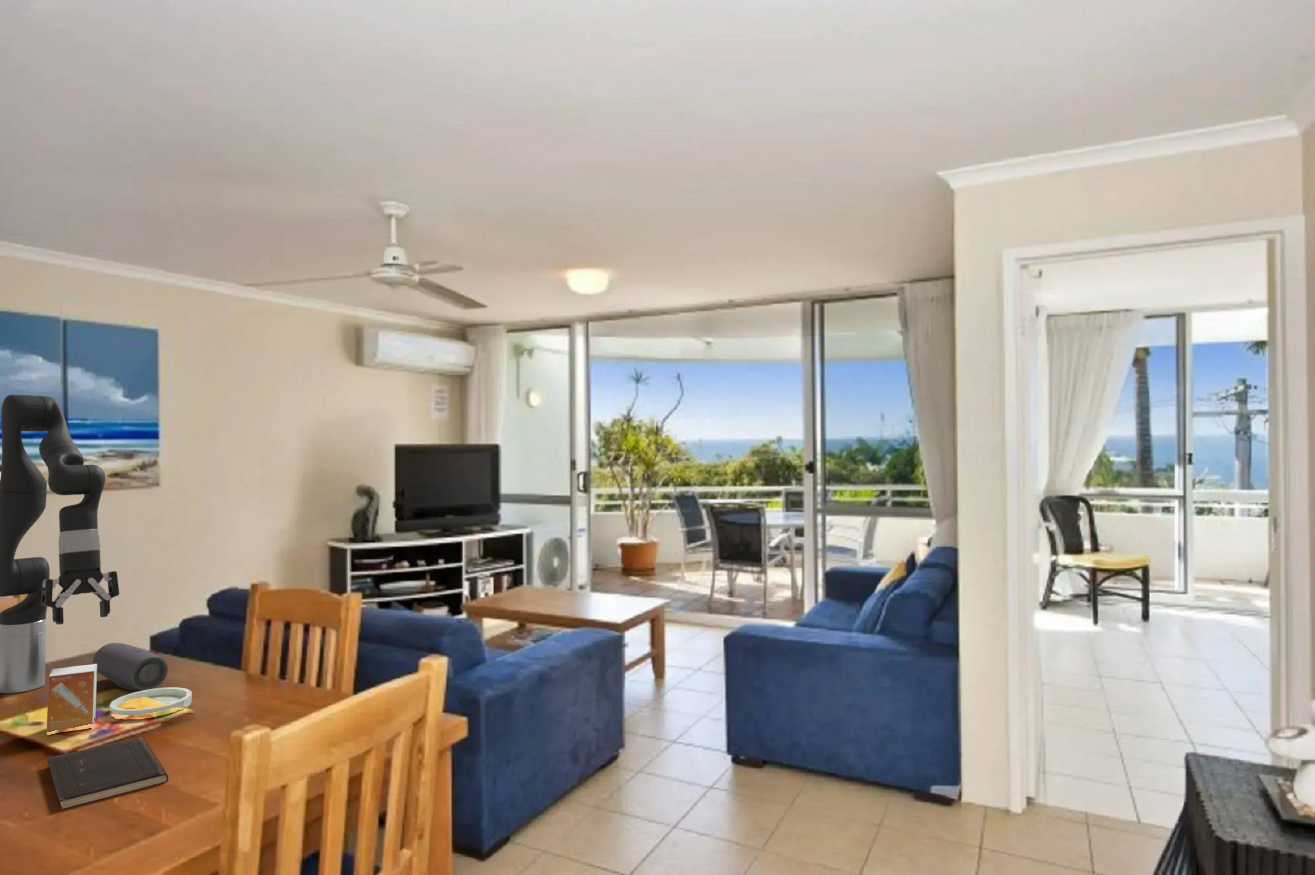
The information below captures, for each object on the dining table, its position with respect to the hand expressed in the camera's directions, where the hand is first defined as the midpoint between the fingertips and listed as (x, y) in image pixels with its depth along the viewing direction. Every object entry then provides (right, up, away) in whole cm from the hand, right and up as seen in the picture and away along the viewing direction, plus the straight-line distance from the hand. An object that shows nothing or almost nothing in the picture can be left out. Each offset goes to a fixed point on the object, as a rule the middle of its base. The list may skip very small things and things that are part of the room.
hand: (82, 620), depth 169 cm
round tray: (+11, -23, +7) cm, 26 cm away
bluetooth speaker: (-5, -23, +22) cm, 32 cm away
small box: (+2, -23, -6) cm, 24 cm away
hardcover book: (+27, -23, -28) cm, 45 cm away
